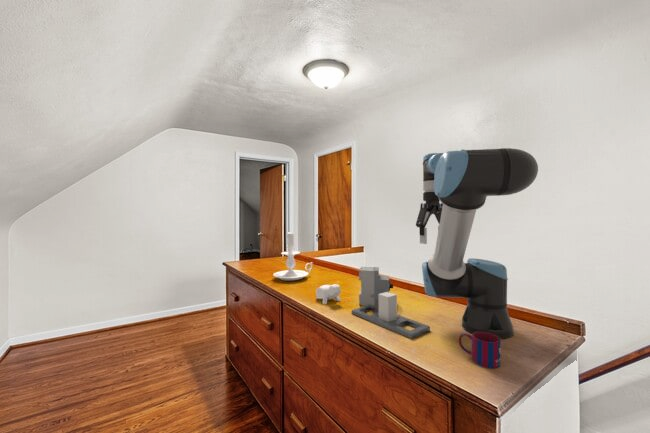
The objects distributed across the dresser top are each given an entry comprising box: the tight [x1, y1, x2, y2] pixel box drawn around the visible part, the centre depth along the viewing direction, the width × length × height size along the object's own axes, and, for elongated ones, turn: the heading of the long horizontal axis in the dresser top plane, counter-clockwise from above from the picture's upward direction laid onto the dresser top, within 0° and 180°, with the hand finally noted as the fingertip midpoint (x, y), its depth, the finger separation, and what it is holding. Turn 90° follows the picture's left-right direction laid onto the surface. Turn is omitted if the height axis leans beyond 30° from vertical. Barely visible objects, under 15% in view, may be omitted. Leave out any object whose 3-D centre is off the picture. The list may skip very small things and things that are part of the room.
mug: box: [458, 332, 502, 369], centre depth 79 cm, size 7×10×7 cm
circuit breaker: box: [358, 266, 394, 307], centre depth 127 cm, size 8×14×15 cm, turn 78°
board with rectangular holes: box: [351, 305, 431, 340], centre depth 106 cm, size 28×10×2 cm, turn 37°
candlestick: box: [273, 231, 314, 282], centre depth 172 cm, size 21×25×28 cm
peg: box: [378, 291, 398, 322], centre depth 106 cm, size 5×5×10 cm
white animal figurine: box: [315, 283, 342, 306], centre depth 130 cm, size 9×8×15 cm
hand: (432, 242), depth 122 cm, fingers open, 13 cm apart
